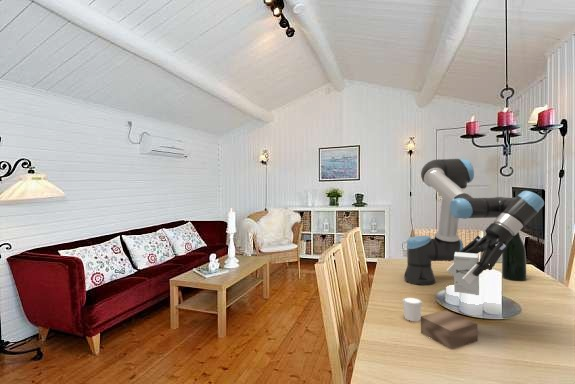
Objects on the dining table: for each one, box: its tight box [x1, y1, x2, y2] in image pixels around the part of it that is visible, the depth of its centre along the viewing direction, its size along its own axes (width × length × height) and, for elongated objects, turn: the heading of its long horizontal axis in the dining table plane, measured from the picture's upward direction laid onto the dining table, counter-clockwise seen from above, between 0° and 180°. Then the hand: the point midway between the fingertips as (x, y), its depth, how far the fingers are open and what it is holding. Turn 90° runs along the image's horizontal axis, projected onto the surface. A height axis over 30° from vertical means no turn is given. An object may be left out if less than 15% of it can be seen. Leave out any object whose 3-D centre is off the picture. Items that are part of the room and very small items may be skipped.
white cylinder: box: [402, 297, 423, 322], centre depth 118 cm, size 7×7×7 cm
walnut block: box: [420, 309, 479, 350], centre depth 104 cm, size 12×12×6 cm
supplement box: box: [453, 252, 480, 296], centre depth 106 cm, size 7×7×13 cm
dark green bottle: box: [501, 231, 527, 282], centre depth 164 cm, size 10×10×33 cm
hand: (457, 276), depth 106 cm, fingers closed on supplement box, 10 cm apart
